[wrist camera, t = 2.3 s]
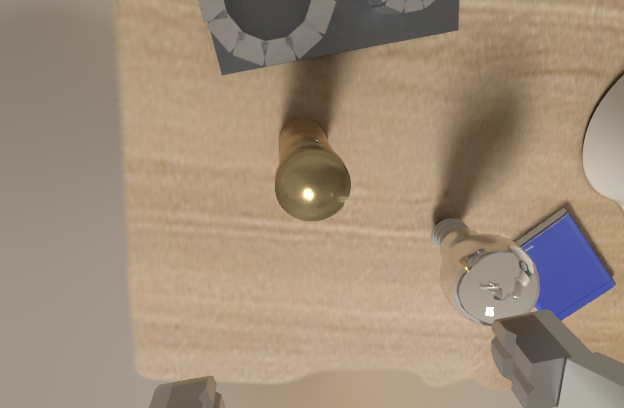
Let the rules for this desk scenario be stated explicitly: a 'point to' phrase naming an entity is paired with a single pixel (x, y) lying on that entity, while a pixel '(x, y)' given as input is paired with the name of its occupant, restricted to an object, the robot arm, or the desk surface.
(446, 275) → the light bulb
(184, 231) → the desk surface
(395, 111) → the desk surface
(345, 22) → the manifold plate
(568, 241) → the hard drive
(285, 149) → the brass fitting
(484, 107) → the desk surface
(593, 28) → the desk surface
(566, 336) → the robot arm
